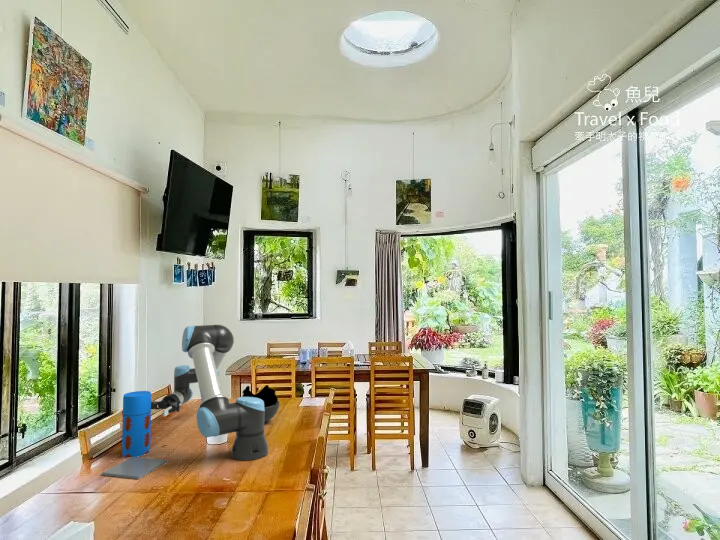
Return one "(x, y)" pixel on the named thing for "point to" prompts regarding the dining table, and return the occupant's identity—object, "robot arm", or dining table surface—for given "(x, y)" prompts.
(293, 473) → the dining table surface
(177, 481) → the dining table surface
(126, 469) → the slate tile
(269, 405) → the coal bowl
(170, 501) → the dining table surface
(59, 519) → the dining table surface
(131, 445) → the thermos
